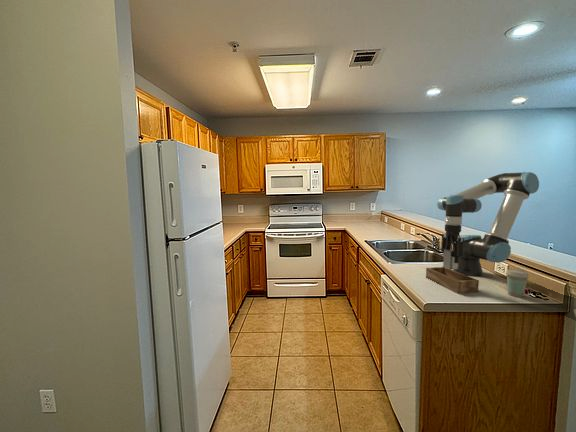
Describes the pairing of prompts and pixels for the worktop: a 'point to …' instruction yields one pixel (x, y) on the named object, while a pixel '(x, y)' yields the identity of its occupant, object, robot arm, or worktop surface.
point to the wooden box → (452, 280)
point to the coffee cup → (516, 282)
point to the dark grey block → (448, 258)
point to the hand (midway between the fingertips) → (450, 267)
